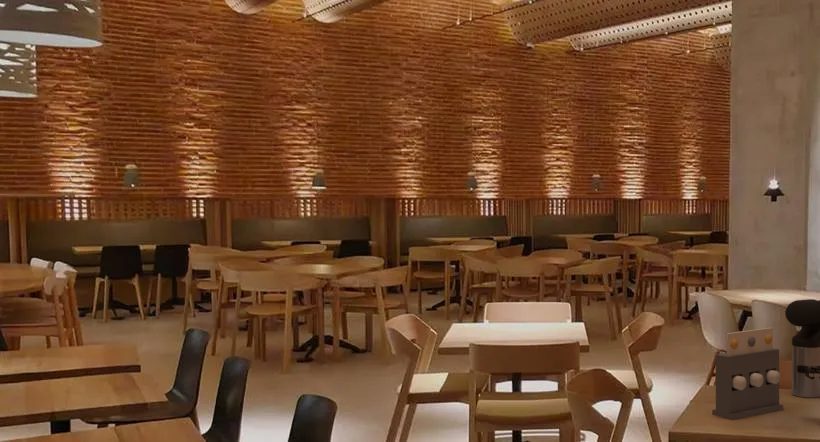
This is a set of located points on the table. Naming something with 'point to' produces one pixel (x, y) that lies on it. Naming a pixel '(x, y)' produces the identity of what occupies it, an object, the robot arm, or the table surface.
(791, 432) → the table surface
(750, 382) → the middle button
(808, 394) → the robot arm
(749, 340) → the card
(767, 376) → the button
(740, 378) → the button
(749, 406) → the button panel
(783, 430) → the table surface
